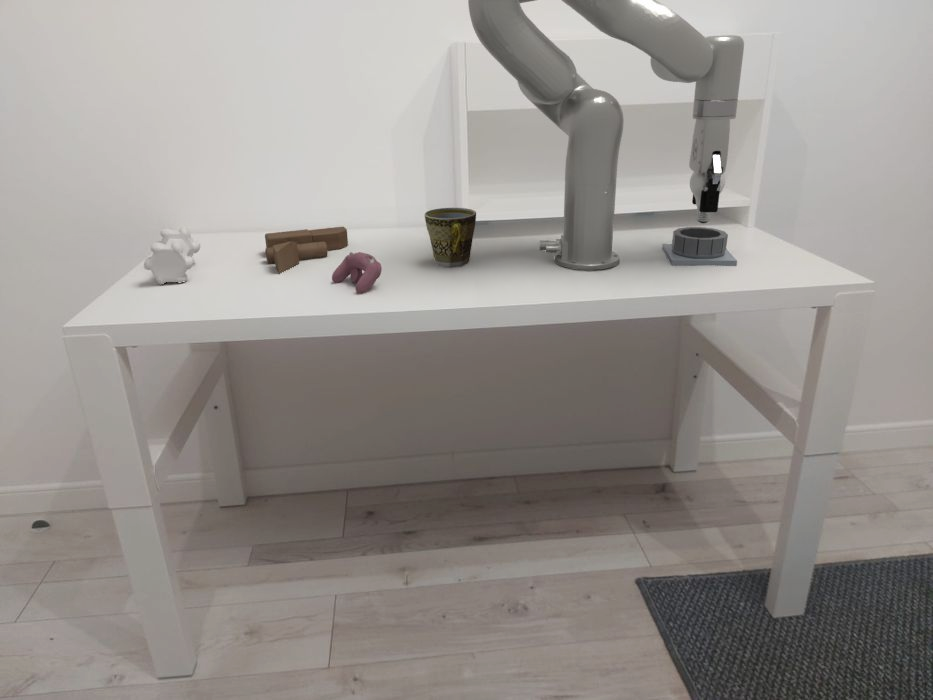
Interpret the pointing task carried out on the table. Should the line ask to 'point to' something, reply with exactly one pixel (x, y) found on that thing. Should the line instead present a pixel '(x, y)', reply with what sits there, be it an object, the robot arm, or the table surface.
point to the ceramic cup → (451, 235)
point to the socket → (699, 247)
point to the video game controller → (358, 271)
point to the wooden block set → (302, 245)
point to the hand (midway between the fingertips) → (704, 207)
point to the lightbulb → (696, 188)
